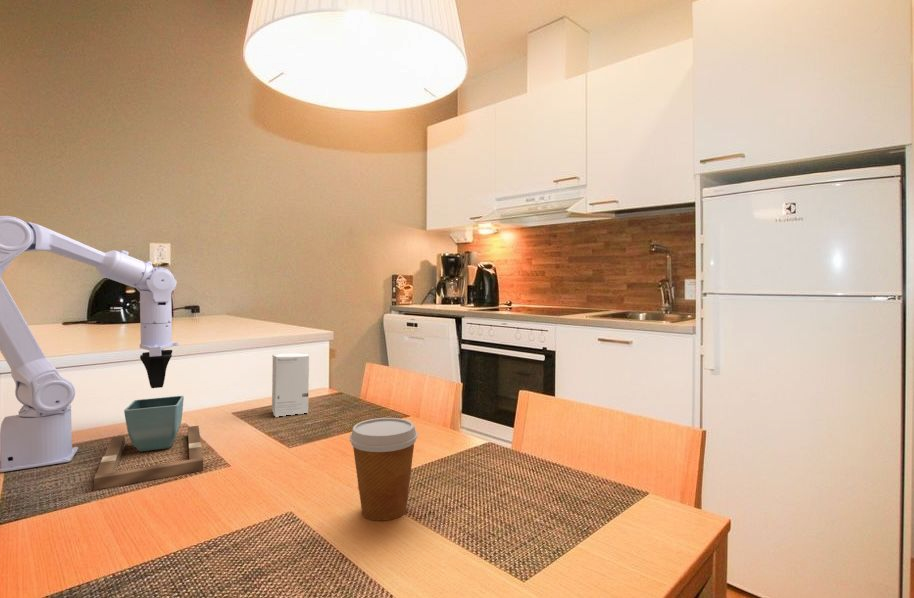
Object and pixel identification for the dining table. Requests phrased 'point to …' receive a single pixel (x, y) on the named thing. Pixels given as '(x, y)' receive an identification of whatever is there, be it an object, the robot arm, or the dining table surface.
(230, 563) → the dining table surface
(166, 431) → the flower pot
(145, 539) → the dining table surface
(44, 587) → the dining table surface
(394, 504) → the disposable coffee cup
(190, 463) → the wooden frame
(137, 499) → the dining table surface
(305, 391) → the skincare box
